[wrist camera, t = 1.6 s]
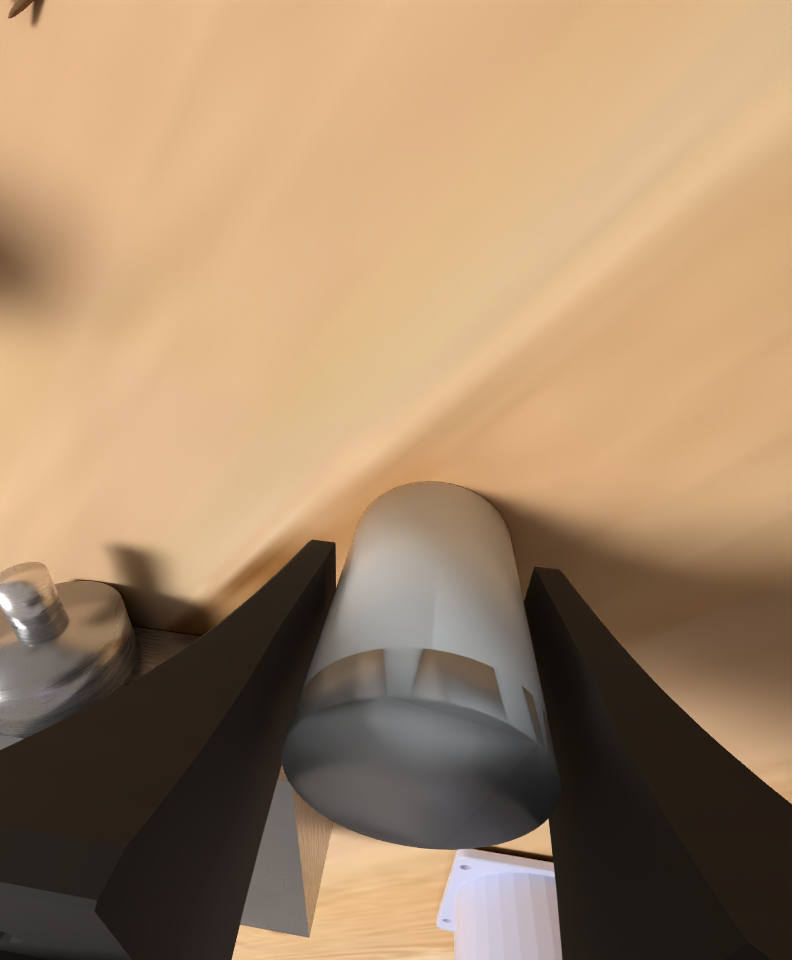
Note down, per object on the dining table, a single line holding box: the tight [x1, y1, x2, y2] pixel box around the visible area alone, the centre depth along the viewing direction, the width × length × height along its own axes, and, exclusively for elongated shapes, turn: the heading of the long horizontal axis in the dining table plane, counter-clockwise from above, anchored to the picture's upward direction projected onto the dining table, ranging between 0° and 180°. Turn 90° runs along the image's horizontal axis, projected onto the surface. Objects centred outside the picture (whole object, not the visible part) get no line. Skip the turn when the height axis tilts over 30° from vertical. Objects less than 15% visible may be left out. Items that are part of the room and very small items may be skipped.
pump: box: [282, 481, 561, 850], centre depth 9 cm, size 4×4×6 cm
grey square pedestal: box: [0, 562, 333, 937], centre depth 15 cm, size 16×16×5 cm
